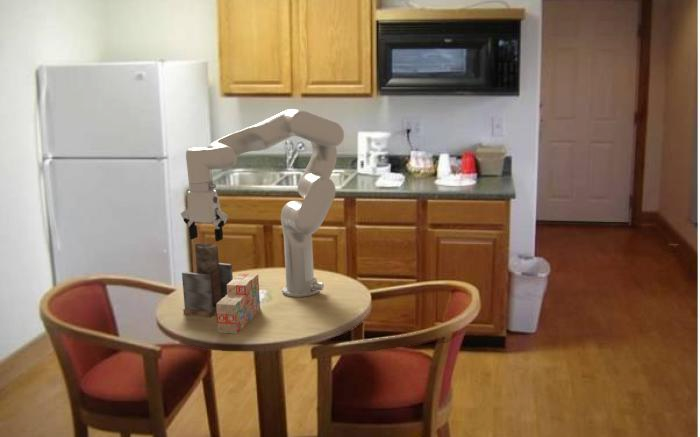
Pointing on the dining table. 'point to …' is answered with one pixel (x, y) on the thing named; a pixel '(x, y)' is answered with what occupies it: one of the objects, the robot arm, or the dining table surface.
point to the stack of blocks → (238, 303)
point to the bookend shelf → (203, 291)
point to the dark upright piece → (209, 267)
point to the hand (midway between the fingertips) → (206, 239)
